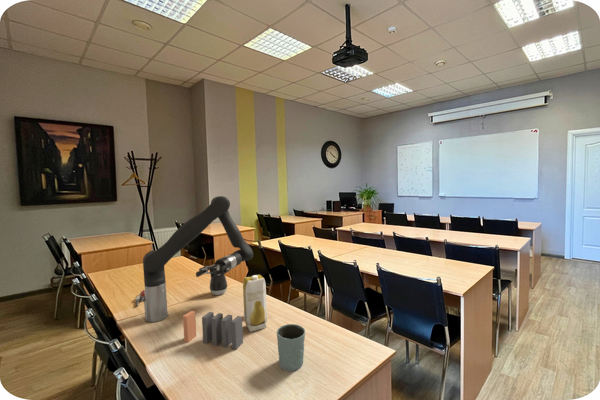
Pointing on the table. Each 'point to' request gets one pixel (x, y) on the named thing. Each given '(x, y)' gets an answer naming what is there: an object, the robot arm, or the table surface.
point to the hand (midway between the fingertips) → (203, 275)
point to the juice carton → (255, 302)
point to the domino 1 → (189, 326)
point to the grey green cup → (291, 346)
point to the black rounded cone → (218, 284)
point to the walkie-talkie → (140, 297)
